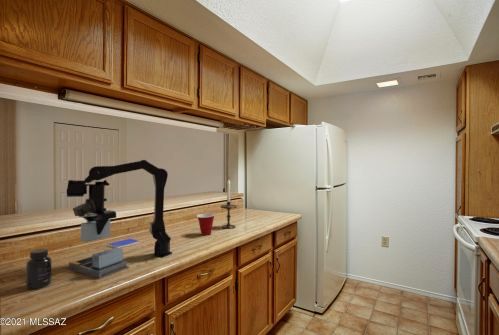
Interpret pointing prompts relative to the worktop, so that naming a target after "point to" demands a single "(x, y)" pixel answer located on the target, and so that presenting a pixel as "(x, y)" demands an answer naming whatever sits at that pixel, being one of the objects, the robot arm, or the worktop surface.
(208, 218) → the plastic cup
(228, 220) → the candlestick
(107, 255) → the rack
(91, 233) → the pale grey block
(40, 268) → the supplement bottle
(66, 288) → the worktop surface
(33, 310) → the worktop surface
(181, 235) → the worktop surface
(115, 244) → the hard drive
